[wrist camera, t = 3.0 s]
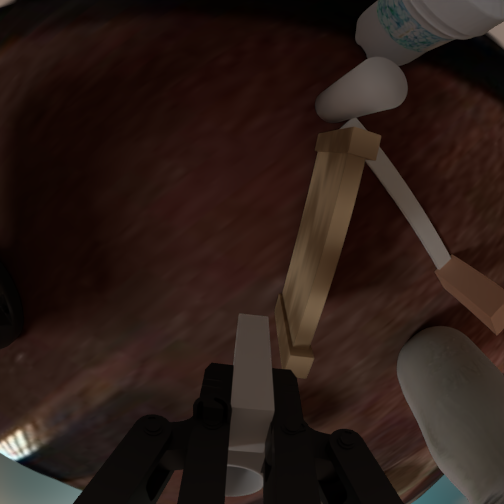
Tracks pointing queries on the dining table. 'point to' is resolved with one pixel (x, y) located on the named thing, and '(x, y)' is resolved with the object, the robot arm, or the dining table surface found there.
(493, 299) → the fence
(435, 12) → the bottle
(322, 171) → the gate
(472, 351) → the white tapered flask
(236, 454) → the mug
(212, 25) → the dining table surface
